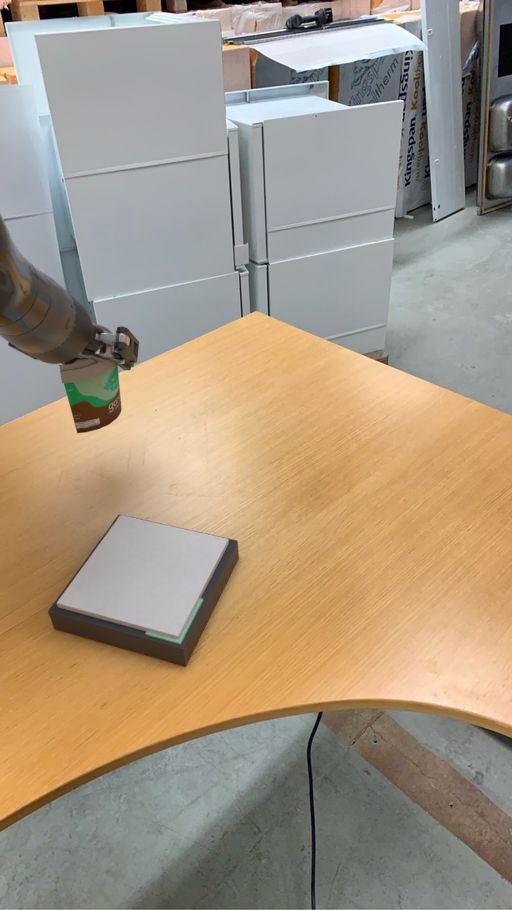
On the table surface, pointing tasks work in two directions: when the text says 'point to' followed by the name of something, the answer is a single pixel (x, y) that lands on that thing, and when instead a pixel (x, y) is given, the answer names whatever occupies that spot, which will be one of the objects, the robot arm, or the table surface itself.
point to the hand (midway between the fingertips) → (100, 361)
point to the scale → (147, 588)
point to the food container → (92, 391)
